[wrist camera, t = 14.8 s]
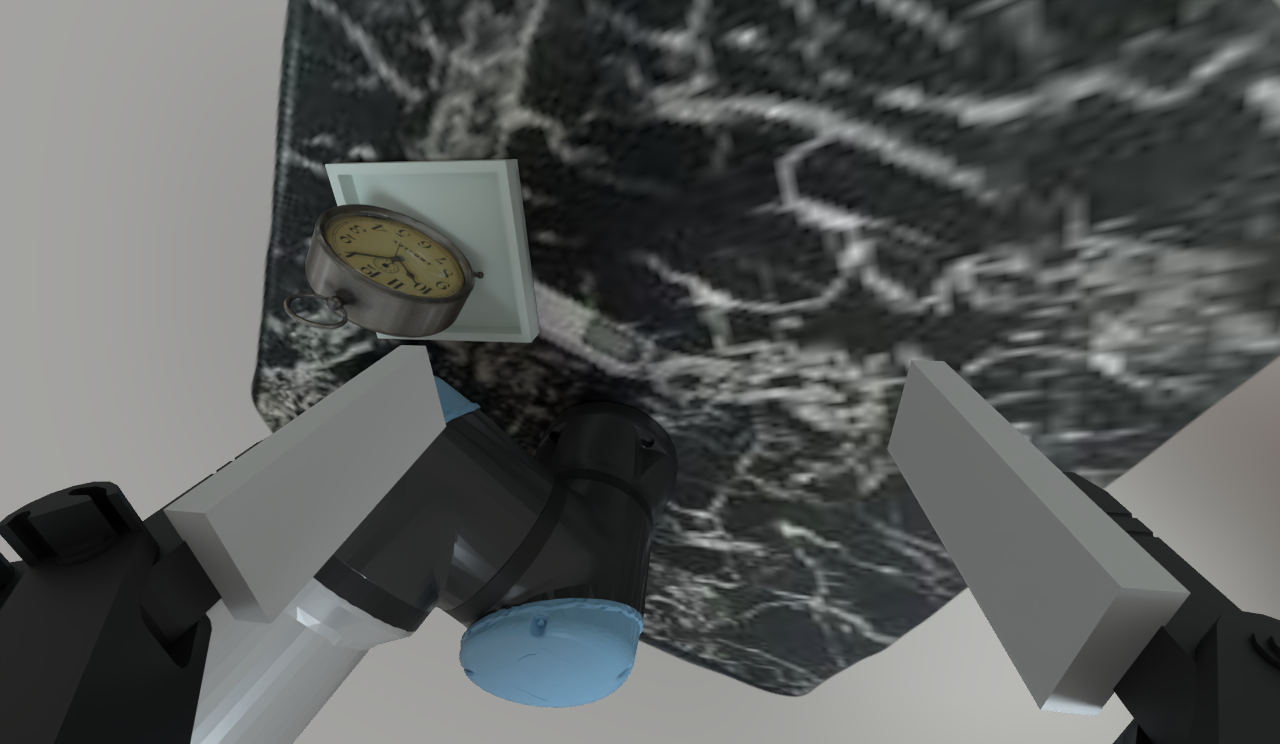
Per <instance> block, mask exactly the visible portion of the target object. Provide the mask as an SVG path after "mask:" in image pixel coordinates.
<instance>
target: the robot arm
mask: <svg viewBox="0 0 1280 744" xmlns="http://www.w3.org/2000/svg"><path fill="white" fill-rule="evenodd" d="M480 408H481V407H480V406H479V405H478V404H477V403H471V402H470V401H469V400H468V399H466V398H465V397H464V396H462V395H461V394H460V393H459V392H457V391H456V390H455V389H453V388H452V387H451V386H450V385H448V384H447V383H446V382H444V381H443V380H442V379H440V378H438V377H436V376H433V372H432V368H431V364H430V361H429V357H428V353H427V349H426V346H413V345H400V346H399V347H398V348H396V349H395V350H393V351H392V352H390V353H389V354H387V355H386V356H385V357H383V358H382V359H380V360H379V361H377V362H376V363H374V364H373V365H371V366H370V367H369V368H367V369H366V370H364V371H363V372H361V373H360V374H358V375H357V376H356V377H354V378H353V379H351V380H350V381H348V382H347V383H345V384H344V385H343V386H341V387H340V388H338V389H337V390H335V391H334V392H332V393H331V394H330V395H328V396H327V397H325V398H324V399H322V400H321V401H319V402H318V403H317V404H315V405H314V406H312V407H311V408H309V409H308V410H306V411H305V412H304V413H302V414H301V415H299V416H298V417H296V418H295V419H293V420H292V421H291V422H289V423H288V424H286V425H285V426H283V427H282V428H280V429H279V430H278V431H276V432H275V433H273V434H272V435H270V436H269V437H267V438H266V439H264V440H262V441H260V442H258V443H256V444H255V445H253V446H252V447H250V448H249V449H247V450H246V451H244V452H243V453H241V454H240V455H239V456H237V457H236V458H235V460H234V461H230V462H228V463H227V464H225V465H224V466H222V467H221V468H220V469H218V470H217V473H215V474H211V475H209V476H208V477H206V478H205V479H204V480H202V481H201V482H199V483H198V484H196V485H195V486H193V487H192V488H191V489H189V490H188V491H186V492H185V493H183V494H182V495H180V496H179V497H177V498H176V499H174V500H173V501H172V502H170V503H169V504H167V505H166V506H164V507H163V508H161V509H160V510H159V511H157V512H156V513H154V514H153V515H151V516H150V517H148V518H147V519H146V520H144V521H142V520H141V519H140V517H139V516H138V514H137V513H136V512H135V510H134V509H133V507H132V506H131V504H130V503H129V502H128V500H127V498H125V496H124V494H123V493H122V491H121V490H120V488H119V487H118V486H117V485H116V484H114V483H111V482H91V483H86V484H81V485H76V486H72V487H69V488H66V489H63V490H60V491H57V492H54V493H51V494H49V495H47V496H44V497H42V498H40V499H38V500H35V501H33V502H31V503H29V504H27V505H25V506H23V507H22V508H20V509H18V510H17V511H15V512H13V513H12V514H10V515H8V516H7V517H6V518H5V519H3V520H2V521H1V522H0V535H1V536H2V537H3V538H4V539H5V540H6V541H7V543H8V544H9V545H10V546H11V547H12V548H13V549H14V550H15V552H16V553H17V554H18V555H19V556H20V557H21V558H22V559H23V560H22V561H16V562H10V563H9V561H8V560H7V559H6V558H5V557H4V556H3V555H2V554H1V553H0V744H293V742H294V741H295V740H296V739H297V737H298V736H299V735H300V734H301V733H302V731H303V730H304V729H305V728H306V726H307V725H308V724H309V723H310V722H311V720H312V719H313V718H314V717H315V716H316V714H317V713H318V712H319V711H320V709H321V708H322V707H323V706H324V704H325V703H326V702H327V701H328V699H329V698H330V697H331V696H332V695H333V694H334V692H335V691H336V690H337V689H338V687H339V686H340V685H341V684H342V682H343V681H344V680H345V679H346V678H347V677H348V675H349V674H350V673H351V672H352V670H353V669H354V668H355V667H356V665H357V664H358V663H359V662H360V661H361V659H362V658H363V657H364V656H365V654H366V653H367V652H368V651H369V649H371V648H372V647H374V646H376V645H378V644H382V643H386V642H390V641H394V640H398V639H401V638H405V637H409V636H411V635H412V634H413V633H414V632H415V631H416V630H417V629H418V628H419V626H420V625H421V624H422V622H423V621H424V620H425V619H426V617H427V616H428V615H429V614H430V612H431V611H432V610H433V609H434V608H435V607H438V608H440V609H442V610H443V611H445V612H446V613H448V614H449V615H451V616H452V617H453V618H455V619H456V620H458V621H459V622H460V623H462V624H463V625H464V626H465V627H467V631H466V632H465V633H464V634H463V636H462V640H461V650H460V658H459V659H460V663H461V666H462V667H463V668H464V671H465V673H466V675H467V677H468V678H469V679H470V680H471V681H472V682H473V683H475V684H476V685H477V686H479V687H480V688H482V689H483V690H485V691H487V692H489V693H491V694H493V695H495V696H498V697H500V698H503V699H506V700H509V701H512V702H516V703H520V704H524V705H531V706H538V707H572V706H578V705H584V704H588V703H592V702H595V701H597V700H600V699H602V698H604V697H606V696H608V695H610V694H611V693H613V692H614V691H615V690H617V689H618V688H619V687H620V686H621V685H622V684H623V683H624V682H625V681H626V679H627V678H628V676H629V674H630V672H631V670H632V667H633V664H634V660H635V655H636V650H637V645H638V640H639V635H640V634H641V632H642V629H643V622H644V621H643V616H644V606H645V597H646V588H647V579H648V569H649V560H650V551H651V541H652V532H653V527H654V525H655V523H656V522H657V520H658V519H659V517H660V515H661V514H662V512H663V510H664V509H665V507H666V505H667V504H668V502H669V500H670V499H671V497H672V494H673V492H674V488H675V485H676V476H677V456H676V452H675V449H674V446H673V444H672V442H671V440H670V438H669V437H668V435H667V434H666V432H665V431H664V430H663V429H662V428H661V427H660V425H659V424H657V423H656V422H655V421H654V420H653V419H651V418H650V417H649V416H647V415H646V414H644V413H642V412H640V411H638V410H636V409H634V408H631V407H629V406H626V405H622V404H618V403H612V402H589V403H584V404H580V405H577V406H574V407H571V408H569V409H567V410H565V411H564V412H562V413H561V414H559V415H558V416H557V417H556V418H555V419H554V420H553V421H552V422H551V423H550V424H549V426H548V427H547V429H546V431H545V433H544V434H543V436H542V438H541V440H540V442H539V445H538V447H537V451H536V456H535V458H534V457H533V456H532V455H531V454H529V453H528V452H527V451H526V450H525V449H524V448H523V447H522V446H520V445H519V444H518V443H517V442H516V441H515V440H514V439H512V438H511V437H510V436H509V435H508V434H507V433H506V432H504V431H503V430H502V429H501V428H500V427H499V426H498V425H496V424H495V423H494V422H493V421H492V420H491V419H490V418H488V417H487V416H486V415H485V414H484V413H483V412H482V411H481V410H479V409H480ZM888 451H889V453H890V454H891V456H892V458H893V459H894V461H895V463H896V464H897V466H898V468H899V470H900V471H901V473H902V475H903V476H904V478H905V480H906V482H907V483H908V485H909V487H910V488H911V490H912V492H913V493H914V495H915V497H916V499H917V500H918V502H919V504H920V505H921V507H922V509H923V510H924V512H925V514H926V516H927V517H928V519H929V521H930V522H931V524H932V526H933V528H934V529H935V531H936V533H937V534H938V536H939V538H940V539H941V541H942V543H943V545H944V546H945V548H946V550H947V551H948V553H949V555H950V557H951V558H952V560H953V562H954V563H955V565H956V567H957V568H958V570H959V572H960V574H961V575H962V577H963V579H964V580H965V582H966V584H967V585H968V587H969V589H970V591H971V592H972V594H973V596H974V597H975V599H976V601H977V603H978V604H979V606H980V608H981V609H982V611H983V613H984V614H985V616H986V618H987V620H988V621H989V623H990V625H991V626H992V628H993V630H994V631H995V633H996V635H997V637H998V638H999V640H1000V642H1001V643H1002V645H1003V647H1004V648H1005V650H1006V652H1007V654H1008V655H1009V657H1010V659H1011V660H1012V662H1013V664H1014V666H1015V667H1016V669H1017V671H1018V672H1019V674H1020V676H1021V677H1022V679H1023V681H1024V683H1025V684H1026V686H1027V688H1028V689H1029V691H1030V693H1031V695H1032V696H1033V698H1034V700H1035V701H1036V703H1037V705H1038V706H1039V708H1040V710H1047V711H1056V712H1065V713H1075V714H1083V715H1092V716H1096V715H1097V714H1098V713H1099V711H1100V710H1101V709H1102V708H1103V706H1104V705H1105V704H1106V702H1107V701H1108V700H1109V698H1110V697H1111V696H1112V695H1113V693H1114V692H1115V693H1116V694H1117V696H1118V697H1119V698H1120V700H1121V701H1122V703H1123V704H1124V705H1125V707H1126V708H1127V709H1128V711H1129V712H1130V713H1131V715H1132V716H1133V717H1134V719H1133V720H1132V721H1131V723H1130V724H1129V725H1128V726H1127V727H1126V729H1125V730H1124V731H1123V732H1122V733H1121V735H1120V736H1119V737H1118V738H1117V739H1116V740H1115V742H1114V743H1113V744H1280V620H1277V619H1274V618H1272V617H1269V616H1266V615H1263V614H1256V613H1250V612H1244V611H1241V610H1240V609H1239V608H1238V607H1237V606H1236V605H1235V604H1233V603H1232V602H1231V601H1230V600H1229V599H1227V597H1226V596H1224V595H1223V594H1222V593H1221V592H1220V591H1219V590H1218V589H1216V588H1215V587H1214V586H1213V585H1212V584H1211V583H1210V582H1208V581H1207V580H1206V579H1205V578H1204V577H1203V576H1202V575H1201V574H1200V573H1198V572H1197V571H1196V570H1195V569H1194V568H1193V567H1191V566H1190V565H1189V564H1188V563H1187V562H1186V561H1184V559H1182V558H1181V557H1180V556H1179V555H1178V554H1177V553H1176V552H1175V551H1173V550H1172V549H1171V548H1170V547H1169V546H1168V545H1167V544H1166V543H1164V542H1163V541H1162V540H1161V539H1160V538H1158V537H1154V536H1153V532H1152V531H1151V530H1150V529H1149V528H1147V527H1146V526H1145V525H1144V524H1143V523H1142V522H1140V521H1139V520H1138V519H1137V518H1132V514H1131V513H1130V512H1129V511H1128V510H1127V509H1126V508H1125V507H1123V506H1122V505H1121V504H1120V503H1119V502H1118V501H1117V500H1116V499H1115V498H1113V497H1112V496H1111V495H1110V494H1109V493H1108V492H1106V491H1105V490H1103V489H1101V488H1100V487H1098V486H1096V485H1094V484H1093V483H1091V482H1089V481H1088V480H1086V479H1084V478H1082V477H1081V476H1079V475H1077V474H1076V473H1072V472H1061V471H1060V470H1059V469H1058V468H1057V467H1056V466H1055V465H1054V464H1053V463H1052V462H1051V461H1050V460H1048V459H1047V458H1046V457H1045V456H1044V455H1043V454H1042V453H1041V452H1040V451H1039V450H1038V449H1037V448H1036V447H1035V446H1034V445H1032V444H1031V443H1030V442H1029V441H1028V440H1027V439H1026V438H1025V437H1024V436H1023V435H1022V434H1021V433H1020V432H1019V431H1018V430H1017V429H1015V428H1014V427H1013V426H1012V425H1011V424H1010V423H1009V422H1008V421H1007V420H1006V419H1005V418H1004V417H1003V416H1002V415H1001V414H999V413H998V412H997V411H996V410H995V409H994V408H993V407H992V406H991V405H990V404H989V403H988V402H987V401H986V400H985V399H983V398H982V397H981V396H980V395H979V394H978V393H977V392H976V391H975V390H974V389H973V388H972V387H971V386H970V385H969V384H967V383H966V382H965V381H964V380H963V379H962V378H961V377H960V376H959V375H958V374H957V373H956V372H955V371H954V370H953V369H952V368H950V367H949V366H948V365H947V364H946V363H945V362H944V361H915V360H911V364H910V368H909V371H908V375H907V379H906V383H905V386H904V390H903V394H902V397H901V401H900V405H899V408H898V412H897V416H896V420H895V423H894V427H893V431H892V434H891V438H890V442H889V445H888Z"/></svg>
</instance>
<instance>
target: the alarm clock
mask: <svg viewBox="0 0 1280 744" xmlns="http://www.w3.org/2000/svg"><path fill="white" fill-rule="evenodd" d="M305 271H306V275H307V279H308V281H309V283H310V285H311V287H312V289H313V290H314V292H315V293H316V294H314V293H298V294H292V295H290V296H288V297H287V298H286V299H285V300H284V309H285V311H286V312H287V314H288V315H289V316H290V317H292V318H293V319H295V320H296V321H298V322H300V323H303V324H305V325H308V326H311V327H315V328H320V329H335V328H339V327H342V326H343V325H344V324H345V323H346V322H347V320H348V321H350V322H352V323H354V324H356V325H358V326H360V327H363V328H365V329H368V330H371V331H374V332H377V333H381V334H385V335H389V336H395V337H405V338H417V337H426V336H431V335H435V334H437V333H440V332H442V331H444V330H446V329H447V328H449V327H450V326H451V325H452V324H453V323H454V322H455V321H456V319H457V317H458V316H459V314H460V312H461V310H462V308H463V306H464V304H465V302H466V300H467V299H468V297H469V295H470V293H471V291H472V290H473V287H474V284H475V277H477V278H478V279H482V278H483V276H484V274H483V272H478V273H476V272H474V271H473V269H472V267H471V265H470V263H469V261H468V260H467V258H466V257H465V256H464V254H463V253H462V252H461V251H460V250H459V249H458V248H457V247H456V246H455V245H454V244H453V243H452V242H451V241H450V240H448V239H447V238H446V237H445V236H443V235H442V234H440V233H439V232H437V231H436V230H434V229H433V228H431V227H429V226H428V225H426V224H424V223H422V222H420V221H418V220H416V219H413V218H411V217H409V216H407V215H404V214H401V213H398V212H395V211H392V210H389V209H386V208H381V207H377V206H372V205H363V204H348V205H341V206H336V207H333V208H330V209H328V210H326V211H324V212H323V213H322V214H321V215H320V216H319V217H318V219H317V221H316V224H315V230H314V234H313V238H312V241H311V245H310V248H309V252H308V255H307V259H306V263H305ZM301 297H313V298H317V299H321V300H322V301H323V302H324V303H325V304H326V305H327V306H328V307H329V308H330V309H332V310H333V311H334V312H336V313H337V314H338V315H340V316H342V317H343V320H342V321H341V322H339V323H335V324H321V323H315V322H311V321H309V320H306V319H304V318H302V317H300V316H298V315H297V314H295V313H294V312H293V311H292V309H291V307H290V303H291V302H292V300H294V299H296V298H301Z"/></svg>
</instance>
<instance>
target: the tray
mask: <svg viewBox="0 0 1280 744" xmlns="http://www.w3.org/2000/svg"><path fill="white" fill-rule="evenodd" d="M325 166H326V169H327V173H328V176H329V179H330V183H331V186H332V189H333V192H334V196H335V199H336V202H337V206H341V205H348V204H363V205H372V206H377V207H381V208H386V209H389V210H392V211H395V212H398V213H401V214H404V215H407V216H409V217H411V218H413V219H416V220H418V221H420V222H422V223H424V224H426V225H428V226H429V227H431V228H433V229H434V230H436V231H437V232H439V233H440V234H442V235H443V236H445V237H446V238H447V239H448V240H450V241H451V242H452V243H453V244H454V245H455V246H456V247H457V248H458V249H459V250H460V251H461V252H462V253H463V254H464V256H465V257H466V258H467V260H468V261H469V263H470V265H471V267H472V269H473V271H474V272H476V273H478V272H483V274H484V276H483V278H482V279H478V278H477V277H475V284H474V287H473V290H472V291H471V293H470V295H469V297H468V299H467V300H466V302H465V304H464V306H463V308H462V310H461V312H460V314H459V316H458V317H457V319H456V321H455V322H454V323H453V324H452V325H451V326H450V327H449V328H447V329H446V330H444V331H442V332H440V333H437V334H435V335H431V336H426V337H417V338H405V337H395V336H389V335H385V334H381V333H377V332H376V334H377V337H378V338H381V339H416V340H452V341H487V342H523V343H531V342H532V341H533V340H534V339H535V338H536V336H537V335H538V334H539V333H540V330H539V322H538V315H537V307H536V300H535V292H534V284H533V277H532V269H531V261H530V254H529V246H528V239H527V231H526V223H525V216H524V208H523V200H522V193H521V185H520V178H519V170H518V162H517V159H494V160H447V161H399V162H352V163H334V164H325Z"/></svg>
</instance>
